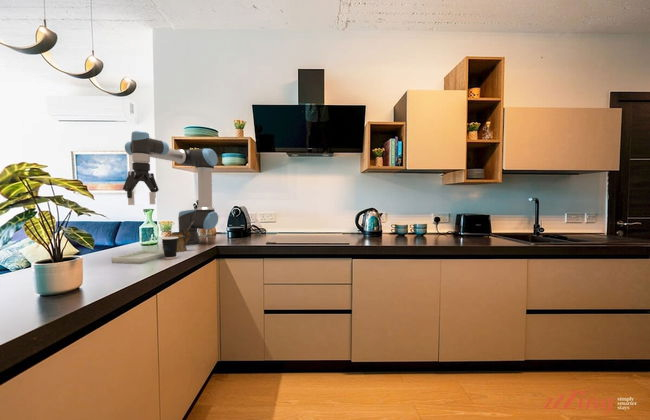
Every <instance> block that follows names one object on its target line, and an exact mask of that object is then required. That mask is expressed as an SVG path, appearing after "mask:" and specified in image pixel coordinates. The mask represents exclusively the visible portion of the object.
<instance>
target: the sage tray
mask: <svg viewBox="0 0 650 420" xmlns="http://www.w3.org/2000/svg"><path fill="white" fill-rule="evenodd" d="M163 258H165V256H164V250H149V249H147V250H146V249H145V250H139V251H136V252H131V253H126V254H122V255H117V256H114V257H111V263H113V264H139V265H142V264H146V263H150V262H153V261H157V260H160V259H163Z"/></svg>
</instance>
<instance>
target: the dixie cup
mask: <svg viewBox="0 0 650 420" xmlns="http://www.w3.org/2000/svg"><path fill="white" fill-rule="evenodd" d="M160 240H161V242H162V243H161V244H162V248H163V250H162V251H164V256H165V257H164V258H165V260H171V259H176V256H177V253H178V252H177V242H178V237H171V236H166V237H161V239H160Z"/></svg>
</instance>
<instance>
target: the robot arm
mask: <svg viewBox="0 0 650 420" xmlns="http://www.w3.org/2000/svg"><path fill="white" fill-rule="evenodd" d="M124 151H125V152H126V154H128V155H130V156H131V159H132V164H131V166H132V169H131V170H129V171H128V173H127V177H126V179H125V181H124V184H123V187H122V190H124V191H125V192H126V194H127V195H126V197H127V200H128V203H127V204H128V206H135V191H133V190H134V189H135V188H136V187H137V185H138V183H139V182H143V183H144V184H145V186H147V188H148V189H149V191H150V192H148V194H149V205H156V195H157V193H158V192H159V189H160V188H159V187H158V184H157V182H156V179H155V176H154V173H153V172H151V173H149V172H150V171H151V164H150V163H151V158H153V159H154V158H155V159H159V160H165V161H170V162H175V164H179V165H183V166H188V167H194V168H195V170H196V171H197V185H198V186H197V196H198V197H197V198H198V201H197V202H198V204H197V205H198V206H197V207H196V208H195V209H186V210H181V211H179V212H178V217H177V219H178V220H177V221H178V232H182V231H185V230H186V229H187V228H188V226H189V225H190V224H191V222H192V221H194V222H193V224H192V225H191V226H190V228H189V229H188V231H189V233H190V239H189V240H188V242H187V244H186V246H189V245H191V246H192V245H199V244H201V238H200V235H199V233H198V229H199V230H200V229H203V230H211V229H215V227H217V224H218V223H219V214H218V213H217V212H216V211H215V208H214V207H213V187H212V186H213V183H212V182H213V179H212V177H213V176H212V175H213V174H212V172H213V171H214V169H215V166H217V165H218V159H219V158H218V155H217V153H216V151H214V150H213V149H211V148H206V147H205V148H195V149H194V148H192V149H183V148H182V149H181V148H179V149H175V148H170V146H169V144H168V143H167V142H166V141H163V140H159V139H156V138H155V139H154V138H152V137H150V134H149V133H148V132H146V131H140V130H134V131H132V132H131V139H130V141H127V142H126V143H125V144H124ZM184 236H185V237H184V239H186V238H187V236H186V235H184Z"/></svg>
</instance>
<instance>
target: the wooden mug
mask: <svg viewBox="0 0 650 420" xmlns="http://www.w3.org/2000/svg"><path fill="white" fill-rule="evenodd" d="M193 222H194V221H192V222H191V224H190V225H189V226H188V228H187V229H186V230H185V231H182V232H179V231H174V232H171V235H170V237H178V242H177V253H184V252H186V251H187V249H188V248H187V245H186V244H187V242H188V240H189V239H190V233H189V231H188V229H189V228H190V226H191V225H192V224H193ZM184 235H186V236H187V238H186V239H184V237H185V236H184Z"/></svg>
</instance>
